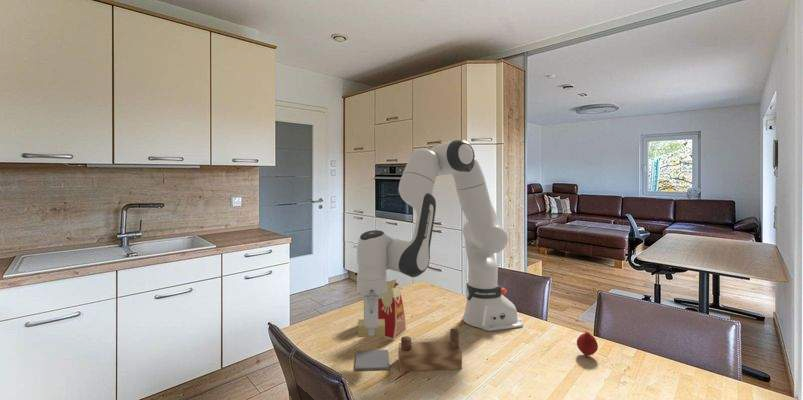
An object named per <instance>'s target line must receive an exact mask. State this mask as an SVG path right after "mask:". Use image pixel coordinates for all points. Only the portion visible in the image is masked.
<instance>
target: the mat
mask: <svg viewBox="0 0 803 400" xmlns="http://www.w3.org/2000/svg"><path fill="white" fill-rule="evenodd" d="M355 354H356V355H355V364H354V371H371V370H372V371H373V370H375V371H377V370H390V369H391V366H390V358H389V349H375V350H374V349H372V350H370V349H369V350H356V353H355Z"/></svg>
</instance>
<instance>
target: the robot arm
mask: <svg viewBox="0 0 803 400" xmlns="http://www.w3.org/2000/svg"><path fill="white" fill-rule="evenodd" d="M475 155H476V154H475V150H474V148H473V146H472V145H471V143H469V142H468V141H466V140H464V139H455V140H452V141H447V142H446V141H445V142H441V143H440V144H438V145H435V146H433V147H428V148H419V149H418V148H417V149H416V150H415V151H414V152H413V153H412V155H411V156H410V158H409V160H408V161H407V163H406V166H405V168H404V170H403V172H402V175H401V176H400V177H401V178H400V179H399V184H398V194H399V196H400V198H401V199H402V200H403V201H404V203H406V204H407V205H409V206H410V207H411V208H413V209H414V210H415V211H416V220H415V225H414V231H413V234H412V235H413V237H412V238H411V240H410V241H408V240H407V241H406V240H402V239H398V238H393V237H391V236H388V235H387V234H385V232H384V231H383V230H378V229H374V230H368V231H365V232H363V233H362V234H360V236H359V238H358V241H357V242H358V243H357V246H356V247H357V249H356V263H357V268H358V269H357V274H356V292H357V293H358V294H359V295H361V296H360V297H361V298H362V299H363V300H364V299H365V328H366V329H368V332H369V336H374V335H375V329H377V328H378V299H380V298H381V297H382V294H384V293H385V292H386V291H387V281H388V279H387V270H391V271H393V272H398V273H401V274H402V275H405V276H408V277H410V278H417V277H419V276H421V275H422V274H423V273H425V271H426V270H427V269H428V268H429V265H430V260H431V243H432V236H433V229H434V223H435V217H436V210H437V202H436V198H435V197H434V196H433V190H434V189H433V188H434V185H435V182H436V178H437V176H445V175H451V176H452V177H453V180H454V184H455V188H456V194H457V196H458V201H459V204H460V208H461V211H462V212H463V215H464V216H465V217H466V220H467V221H465V223H463V224H464V225H463V226H462V234H463V238H464V243H465V251H466V252H465V253H466V257H467V283H466V288H465V296H466V303H465V308H464V309H465V310H464V312H463V315H462V320H463V322H464V323H466V324H467V325H469V326H472V327H475V328H479V329H482V330H484V331H487V332H492V331H493V332H494V331H499V330H507V329H515V328H522V327H524V320H523V318H522V317H521V316H520V315H519V314H518V311H517V307H516V306H515V304H514V303H513V302H512V301H510V300H509V298H507V297H506V296H505V295H506V294H507V289H506V288H505V287H502V286H501V285H500V284H498V277H499V276H498V274H499V271H498V269H499V267H498V266H499V265H498V263H497V259H496V255H495V254H498V253H500V252H502V251H503V250H504V249H505V248H506V247H507V245H508V241H509V240H508V239H509V238H508V234H507V232H506V231H505V229H504V228H503V225H502V224H501V221H500V219H499V217H498V215H497V213H496V211H495V208H494V206H493V204H492V201H491V198H490V193H489V189H488V185H487V182H486V177H485V175H484V173H483V172H484V171H483V169H482V167H481V165H480V162H479V161H478V159H477V158H476V156H475Z"/></svg>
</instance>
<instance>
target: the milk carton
mask: <svg viewBox="0 0 803 400" xmlns="http://www.w3.org/2000/svg"><path fill="white" fill-rule="evenodd" d="M378 319H385V337H382V338H384V339H386V340H390V341H393V342H394V341H396V340H397V339H398V338H400V337H401V336H402V335H403V334H404V333H405V332H406V331H407V323H406V313H405V308H404V302H403V297H402V291H401V287H400V284H399V283H398V282H397V278H393V279H389V280H387V291H386V292H385V293H384V294H382V297H381V298H380V299H378Z"/></svg>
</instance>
